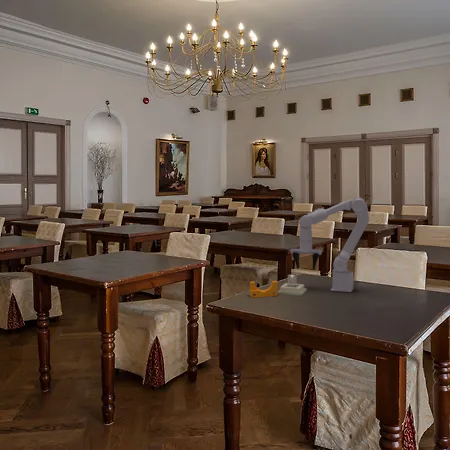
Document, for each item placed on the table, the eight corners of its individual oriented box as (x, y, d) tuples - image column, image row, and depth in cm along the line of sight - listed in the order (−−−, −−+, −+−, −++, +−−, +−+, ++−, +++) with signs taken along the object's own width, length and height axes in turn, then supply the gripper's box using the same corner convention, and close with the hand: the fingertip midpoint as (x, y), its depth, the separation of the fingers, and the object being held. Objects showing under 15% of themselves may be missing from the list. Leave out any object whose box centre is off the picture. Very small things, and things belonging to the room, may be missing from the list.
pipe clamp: (250, 297, 219) (250, 283, 218) (250, 295, 223) (250, 281, 222) (277, 297, 219) (277, 283, 219) (276, 294, 223) (276, 280, 223)
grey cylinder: (297, 289, 228) (297, 274, 228) (295, 291, 225) (295, 276, 224) (288, 289, 230) (288, 274, 229) (287, 290, 226) (286, 275, 225)
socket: (306, 290, 230) (306, 284, 230) (301, 295, 220) (301, 289, 220) (284, 288, 235) (284, 282, 234) (277, 293, 224) (277, 287, 224)
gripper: (288, 241, 232) (288, 269, 233) (319, 242, 227) (319, 271, 228) (292, 239, 239) (292, 266, 240) (322, 240, 233) (322, 268, 234)
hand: (305, 268), depth 234 cm, fingers open, 7 cm apart
